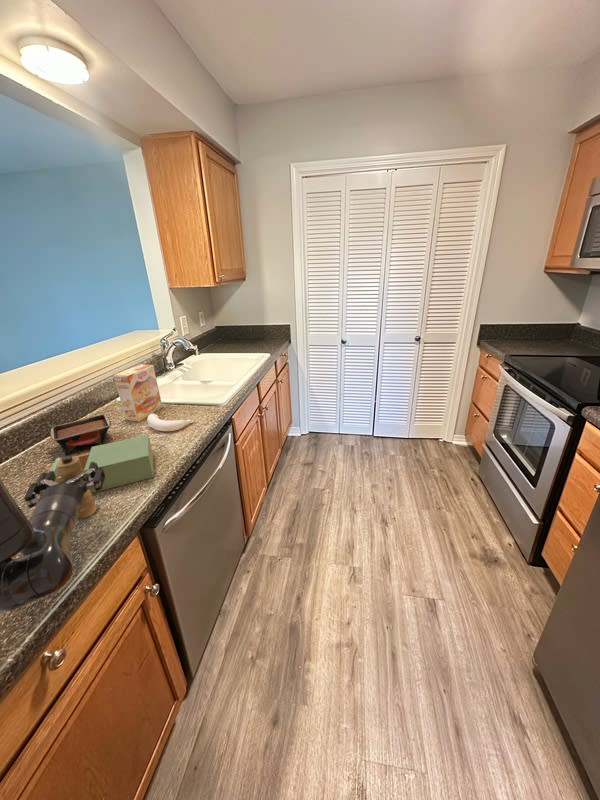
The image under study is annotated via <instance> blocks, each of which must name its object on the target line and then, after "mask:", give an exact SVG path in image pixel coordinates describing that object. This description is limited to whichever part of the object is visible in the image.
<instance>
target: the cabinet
mask: <svg viewBox="0 0 600 800" xmlns="http://www.w3.org/2000/svg"><path fill="white" fill-rule="evenodd" d="M150 440H151V439H150V436H149V435H148V434H146V435H142V436H137V437H133V438H128V439H123V440H118V441H114V442H113V441H112V442H108V443H104V444H99V445H95V446H91V448H90V452H89V453H90V454H89V457H88V460H87V463H86V466H85V469H84V472H86V471H88V469H89V466H90V462H94V463H97V465H98V468H103V471H104V474H105V480H104V483H103V486H102V489H101V490H99V491H96V490H95V488H93V489H90V491H91V493H92V494H93V493H97V492H102V491H105V490H109V489H113V488H116V487H121V486H124V485H129V484H132V483H136V482H140V481H144V480H148V479H151V478H155V468H154V467H155V466H154V465H155V464H154V452H153V448H152V444H151V441H150ZM90 477H91V476H90V475H89V476H88V478H90Z"/></svg>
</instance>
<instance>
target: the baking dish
mask: <svg viewBox="0 0 600 800" xmlns="http://www.w3.org/2000/svg"><path fill="white" fill-rule="evenodd" d="M111 425H112V422H111V420H110V417H109V416H107V414H104V413H102V414H97V415H93V416H90V417H86V418H82V419H77V420H74V421H70V422H66V423H63V424H58V425H54V426H52V427H51V428H50V430H49V437H50V439H51V440H52V441H55V442H56V443H57V444H58V445H59V446H60V448H61V449H62V451H63V452H64V454H65V456H69V454H70V453H71V451H72V450H74V449H75V447H77V446H89V445H92V444H93V445H95V444H99V445H103V444H105V443H104V442H105V440H106V435H107V433H108V431H109V428H110V427H111Z"/></svg>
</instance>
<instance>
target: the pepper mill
mask: <svg viewBox="0 0 600 800" xmlns="http://www.w3.org/2000/svg"><path fill="white" fill-rule="evenodd" d="M76 456H77V455H75V456H73V455H65V456H62V457H61V461H59V462H58V463H57V468H58V470H59V473H60V475H61V478H62V480H63V481H64V480H69V479H72V478H74V477H76V476H77V475H79V474H80V473H84V471H83V468H82V466H81V463H80V460H79V458H78V457H76ZM80 480H81V481H82V478H81V479H80ZM97 508H98V507H97V504H96V502H95V499H94V497H93V493H92V492H91V489H88V490H87V492H85V493H84V497H83V502H82V505H81V508H80V513H79V515H78V519H86V518H88V517H90V516H92V515H94V514H95V513H96V511H97V510H98V509H97Z"/></svg>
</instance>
